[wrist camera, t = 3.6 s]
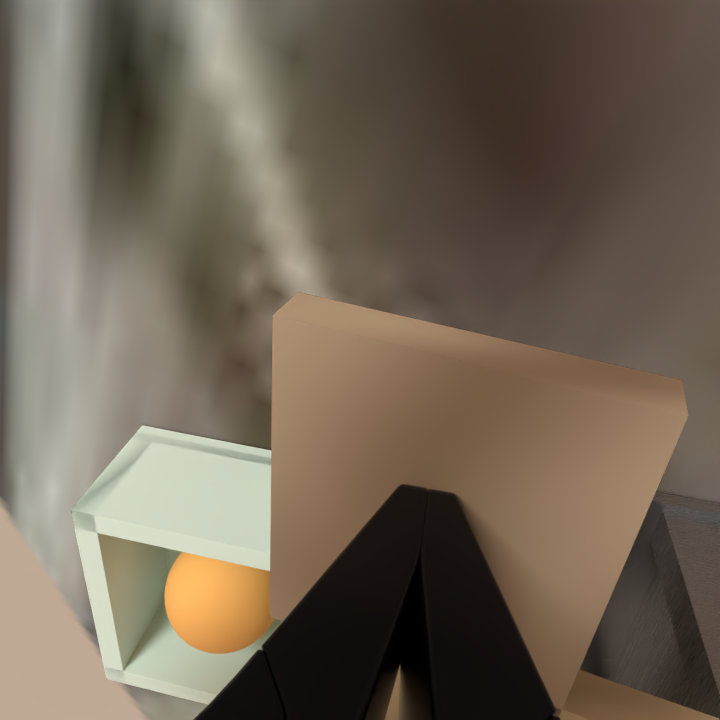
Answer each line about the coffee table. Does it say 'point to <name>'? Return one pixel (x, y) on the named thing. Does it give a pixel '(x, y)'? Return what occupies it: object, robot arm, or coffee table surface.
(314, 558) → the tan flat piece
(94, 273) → the coffee table surface
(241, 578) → the ball
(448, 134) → the coffee table surface
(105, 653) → the mint cubby shelf
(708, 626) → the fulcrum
